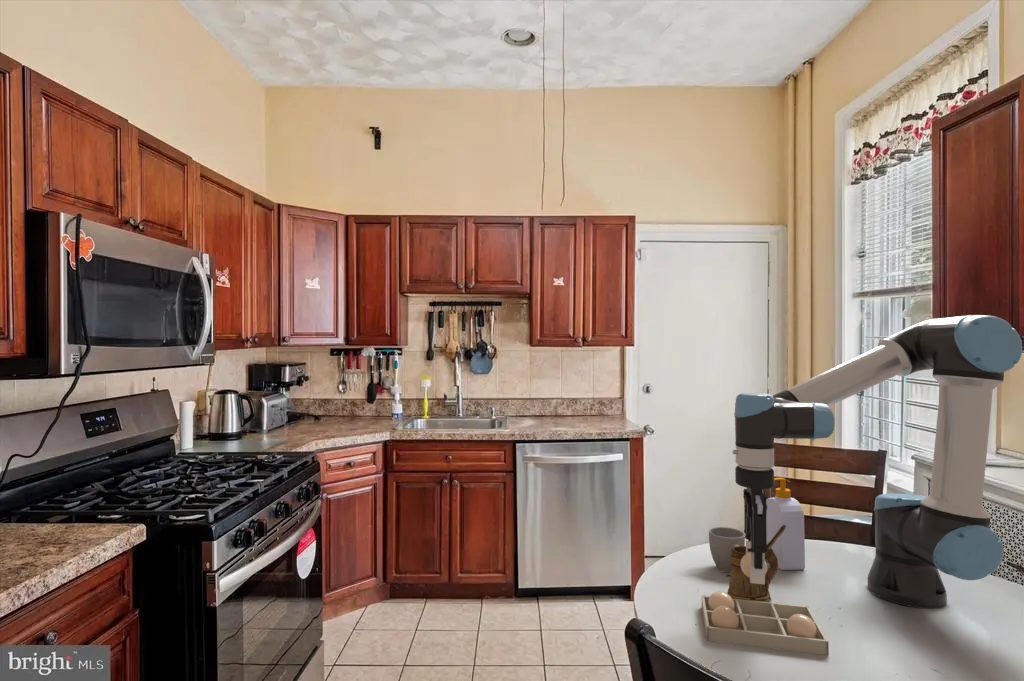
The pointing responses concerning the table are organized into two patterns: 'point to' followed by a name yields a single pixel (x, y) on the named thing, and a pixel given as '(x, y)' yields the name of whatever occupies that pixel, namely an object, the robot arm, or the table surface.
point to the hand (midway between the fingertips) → (755, 577)
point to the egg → (748, 565)
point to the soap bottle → (792, 539)
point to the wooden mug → (741, 583)
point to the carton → (765, 627)
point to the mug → (724, 545)
